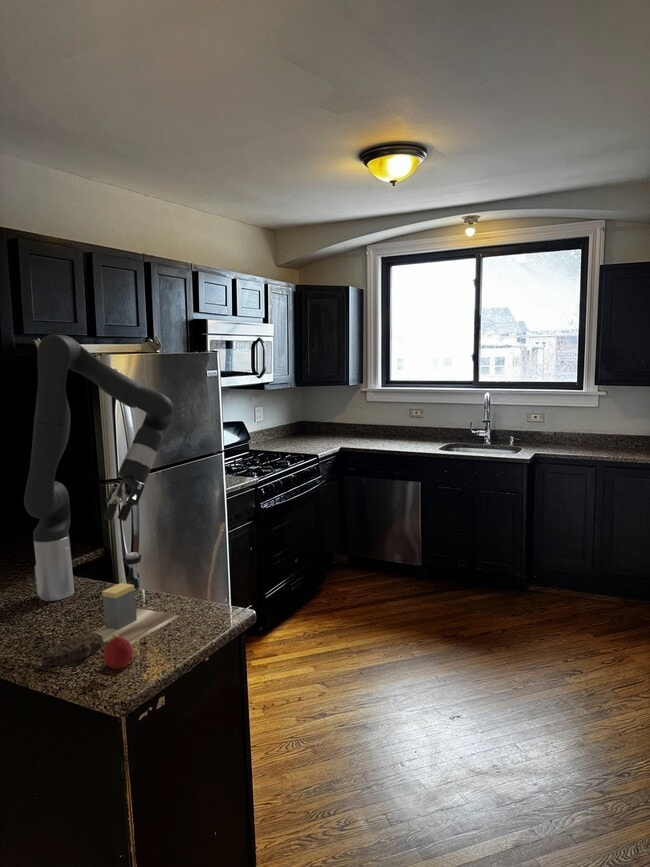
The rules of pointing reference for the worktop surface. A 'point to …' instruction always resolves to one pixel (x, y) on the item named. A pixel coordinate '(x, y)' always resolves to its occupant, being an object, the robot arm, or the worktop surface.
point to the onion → (118, 653)
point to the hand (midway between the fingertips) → (114, 519)
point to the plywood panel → (138, 626)
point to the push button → (133, 568)
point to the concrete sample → (72, 649)
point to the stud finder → (119, 606)
